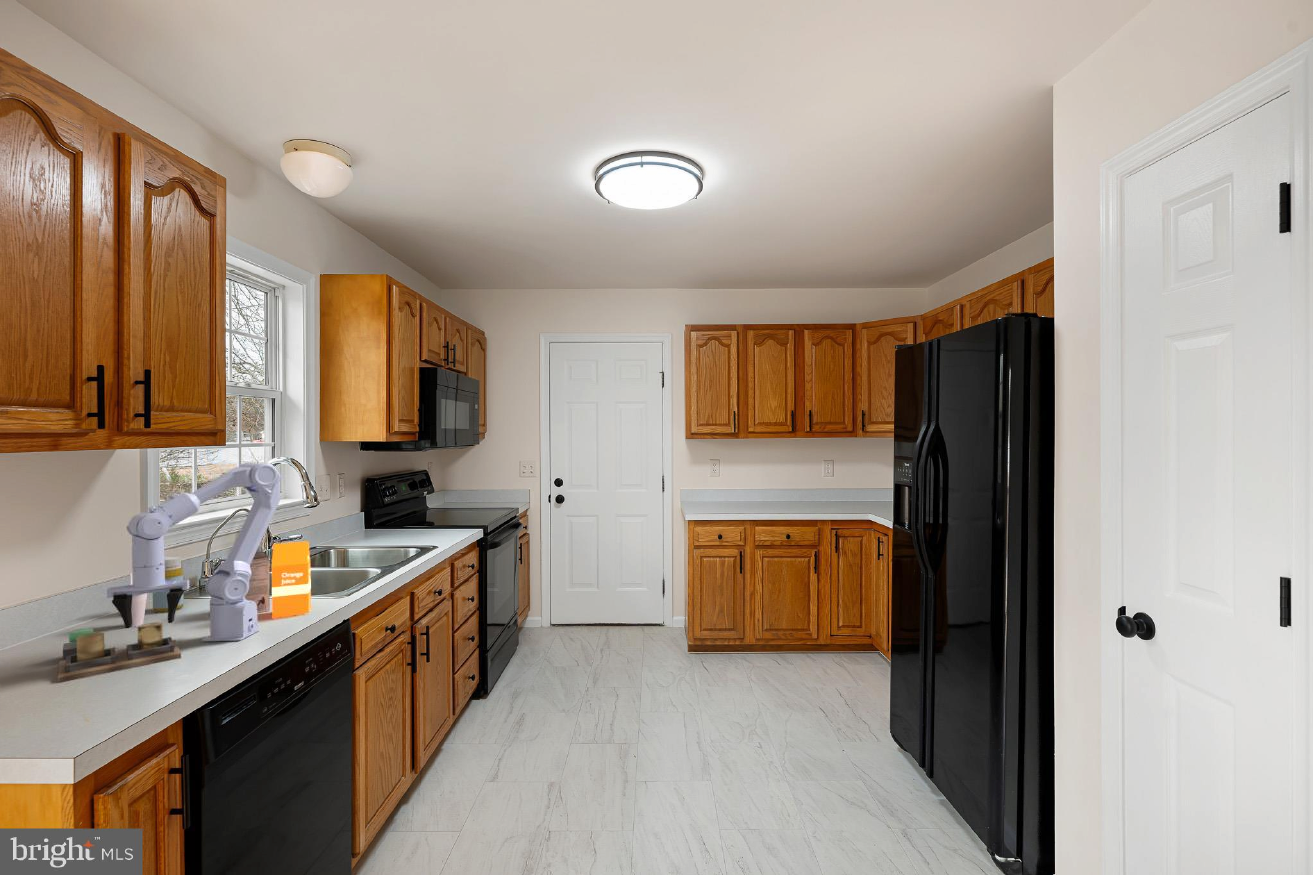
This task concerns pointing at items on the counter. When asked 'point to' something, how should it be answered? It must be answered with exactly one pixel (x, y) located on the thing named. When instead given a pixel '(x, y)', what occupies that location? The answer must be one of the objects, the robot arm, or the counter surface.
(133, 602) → the smoothie
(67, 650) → the button box
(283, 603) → the orange juice
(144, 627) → the cylinder
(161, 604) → the bottle
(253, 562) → the coffee box
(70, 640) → the button
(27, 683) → the counter surface
